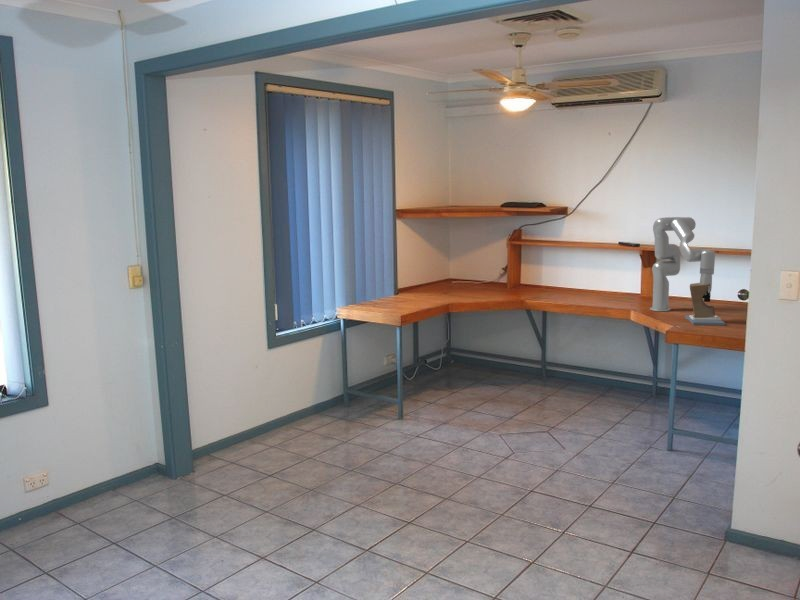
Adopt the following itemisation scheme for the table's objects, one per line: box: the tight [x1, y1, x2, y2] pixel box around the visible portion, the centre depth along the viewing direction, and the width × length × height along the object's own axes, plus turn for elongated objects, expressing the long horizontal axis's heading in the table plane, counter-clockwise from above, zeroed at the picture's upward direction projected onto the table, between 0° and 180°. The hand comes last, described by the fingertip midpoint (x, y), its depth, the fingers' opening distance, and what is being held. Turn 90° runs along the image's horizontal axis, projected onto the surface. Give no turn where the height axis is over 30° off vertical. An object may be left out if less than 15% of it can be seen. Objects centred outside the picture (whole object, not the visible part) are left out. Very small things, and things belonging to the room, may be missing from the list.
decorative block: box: [689, 282, 716, 318], centre depth 400 cm, size 11×6×20 cm, turn 62°
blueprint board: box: [684, 314, 726, 326], centre depth 401 cm, size 24×17×2 cm
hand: (705, 300), depth 401 cm, fingers open, 9 cm apart
